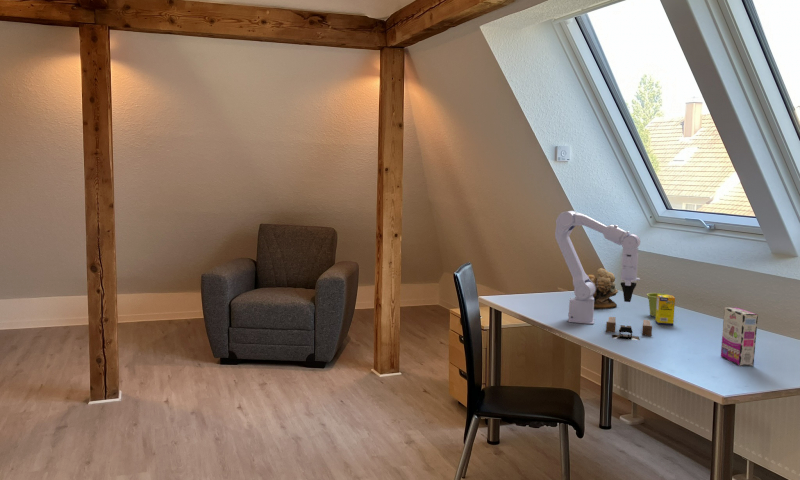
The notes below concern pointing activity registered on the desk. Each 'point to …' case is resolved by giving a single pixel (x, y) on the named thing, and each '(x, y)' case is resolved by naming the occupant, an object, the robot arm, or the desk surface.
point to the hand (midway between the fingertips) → (627, 301)
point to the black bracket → (622, 336)
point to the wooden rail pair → (645, 331)
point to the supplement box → (665, 309)
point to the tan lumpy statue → (604, 289)
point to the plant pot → (653, 302)
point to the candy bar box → (739, 336)
